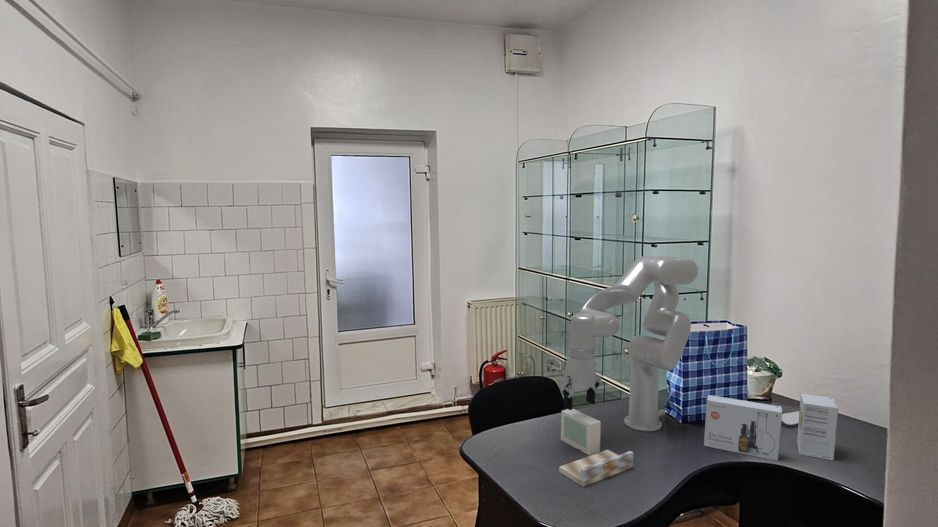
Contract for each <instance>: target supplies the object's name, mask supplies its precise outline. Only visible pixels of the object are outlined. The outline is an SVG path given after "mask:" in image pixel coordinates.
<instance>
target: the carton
mask: <svg viewBox="0 0 938 527" xmlns="http://www.w3.org/2000/svg"><path fill="white" fill-rule="evenodd" d="M560 414H561V416H560V417H561V418H560V424H561V425H560V441H562V442H564V443H566V444H568V445H569V446H571V447H573V448H575V449H577V450H578V449H579V450H578V451H580V450H581V452H582V453H584V454H586V455H588V456H591V455H594V454H597V453H599V452H601V451H600V450H601V421H600V420H598V419H596V418H594V417H591V416H589V415H587V414H585V413H583V412H581V411H579V410H577V409H574V408H573V407H572V410H569V409H567V408H566V409H562V410H561V413H560Z"/></svg>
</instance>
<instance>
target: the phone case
mask: <svg viewBox="0 0 938 527" xmlns="http://www.w3.org/2000/svg"><path fill="white" fill-rule="evenodd" d="M799 412H800V410H797V411H790V412H786V413H785V412H784V413H782V420H781V427H783V428H785V429H795V428H798V424H799Z"/></svg>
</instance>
